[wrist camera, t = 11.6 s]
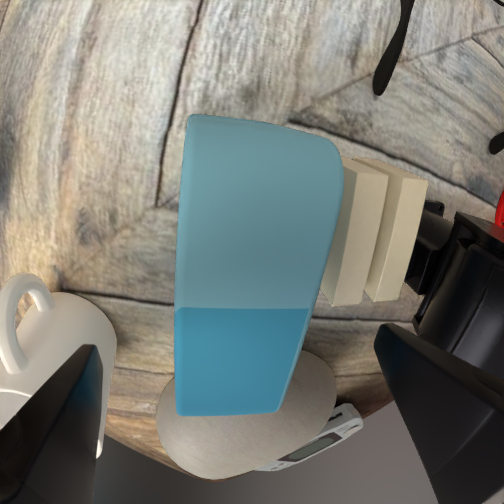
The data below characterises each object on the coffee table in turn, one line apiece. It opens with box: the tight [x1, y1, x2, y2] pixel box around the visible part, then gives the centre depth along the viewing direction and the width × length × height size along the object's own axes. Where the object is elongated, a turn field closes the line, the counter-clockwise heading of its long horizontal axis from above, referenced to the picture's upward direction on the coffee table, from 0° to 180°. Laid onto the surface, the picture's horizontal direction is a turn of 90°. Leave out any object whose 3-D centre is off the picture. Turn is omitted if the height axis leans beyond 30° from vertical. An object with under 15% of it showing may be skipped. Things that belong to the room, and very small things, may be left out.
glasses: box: [373, 0, 504, 155], centre depth 15 cm, size 17×18×5 cm
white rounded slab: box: [156, 350, 337, 479], centre depth 26 cm, size 19×7×16 cm
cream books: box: [320, 155, 428, 307], centre depth 20 cm, size 5×8×6 cm, turn 177°
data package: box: [174, 114, 344, 416], centre depth 15 cm, size 12×4×12 cm, turn 172°
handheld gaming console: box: [254, 403, 363, 471], centre depth 33 cm, size 14×3×8 cm
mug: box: [0, 272, 117, 458], centre depth 17 cm, size 12×8×10 cm
